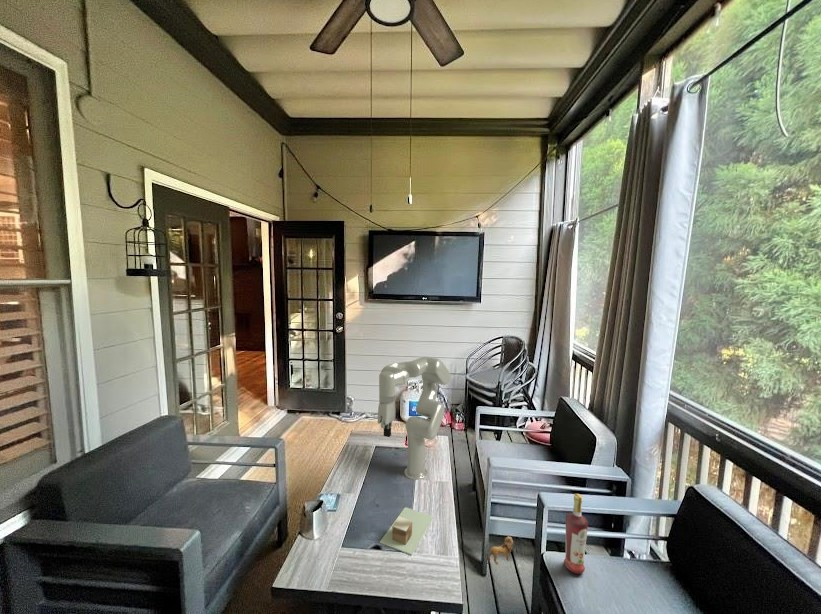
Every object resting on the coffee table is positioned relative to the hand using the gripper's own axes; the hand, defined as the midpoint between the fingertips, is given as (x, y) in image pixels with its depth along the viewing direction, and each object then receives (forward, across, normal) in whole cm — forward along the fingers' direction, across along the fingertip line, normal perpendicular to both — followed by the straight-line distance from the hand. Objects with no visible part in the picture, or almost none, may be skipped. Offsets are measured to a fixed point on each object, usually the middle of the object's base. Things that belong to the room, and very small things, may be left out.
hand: (387, 435), depth 160 cm
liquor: (+32, +7, +81) cm, 87 cm away
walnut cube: (+24, +20, +17) cm, 36 cm away
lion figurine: (+31, +14, +55) cm, 65 cm away
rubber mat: (+31, +15, +17) cm, 39 cm away
